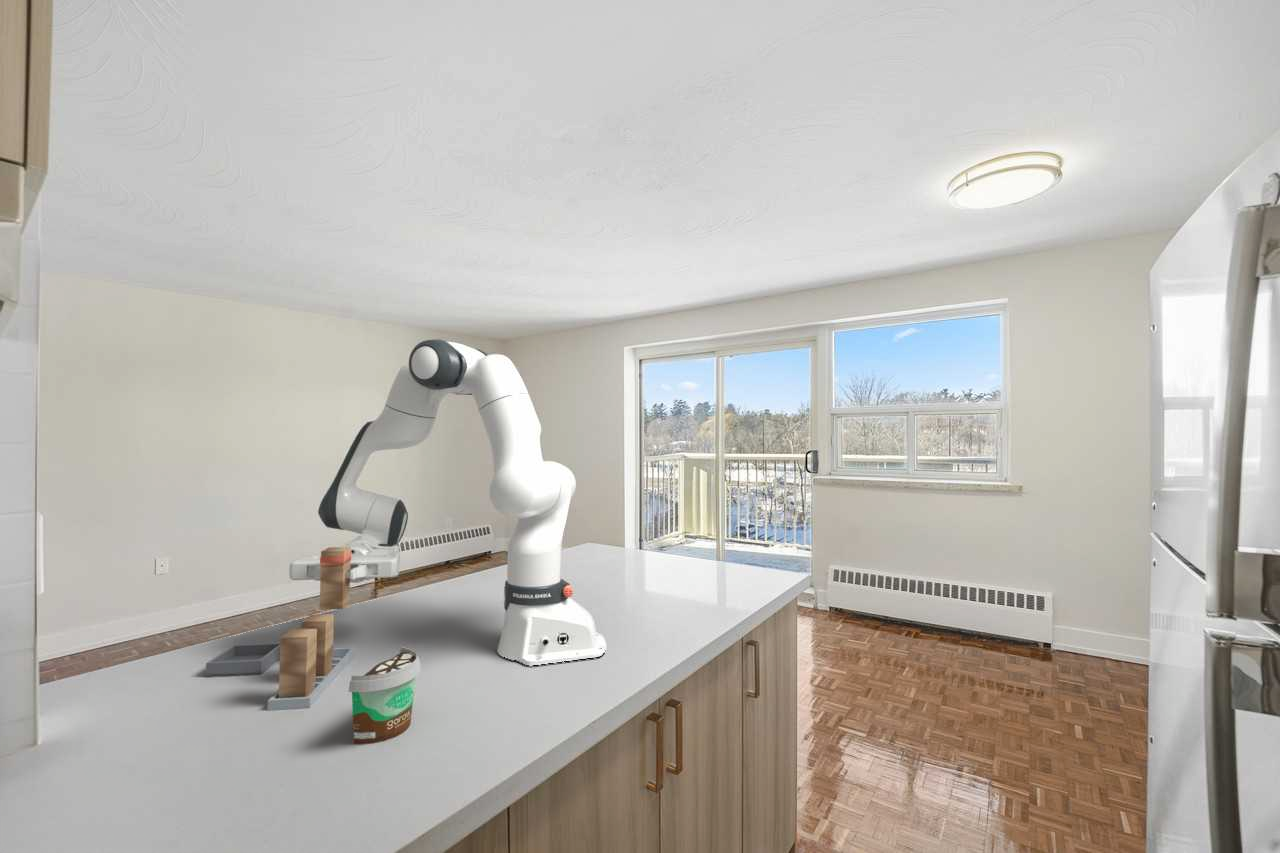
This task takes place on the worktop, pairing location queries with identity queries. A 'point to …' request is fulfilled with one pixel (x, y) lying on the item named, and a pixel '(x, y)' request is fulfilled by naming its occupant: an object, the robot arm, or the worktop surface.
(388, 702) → the food container
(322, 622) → the plain cartridge
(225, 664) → the tray
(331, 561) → the block
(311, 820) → the worktop surface
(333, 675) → the holder
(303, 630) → the plain cartridge
